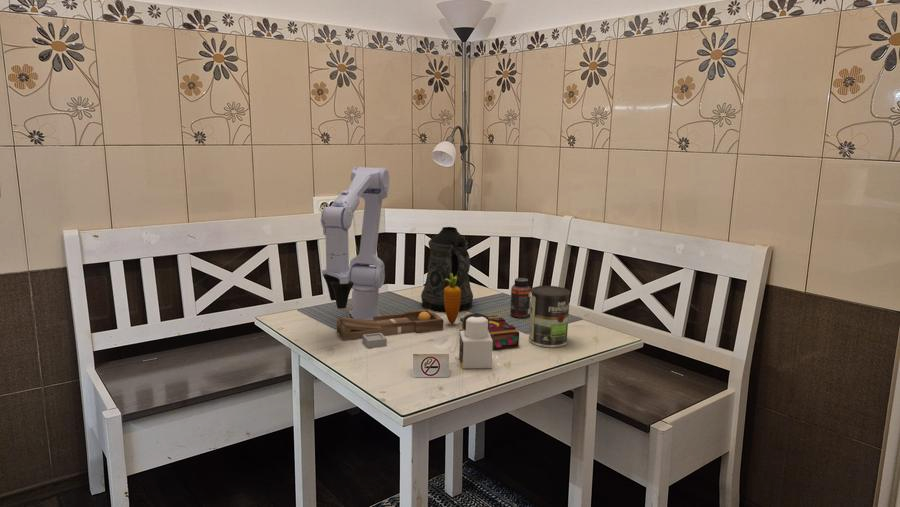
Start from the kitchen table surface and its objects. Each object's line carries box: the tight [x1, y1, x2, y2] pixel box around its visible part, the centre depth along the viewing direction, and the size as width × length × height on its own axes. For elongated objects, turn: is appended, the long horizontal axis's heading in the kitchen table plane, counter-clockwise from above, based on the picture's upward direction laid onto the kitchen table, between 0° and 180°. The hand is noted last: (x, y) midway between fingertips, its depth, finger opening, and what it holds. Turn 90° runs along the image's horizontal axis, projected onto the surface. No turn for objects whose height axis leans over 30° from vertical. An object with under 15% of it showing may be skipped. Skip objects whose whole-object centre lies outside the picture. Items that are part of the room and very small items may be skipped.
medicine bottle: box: [458, 312, 493, 370], centre depth 146 cm, size 7×7×12 cm
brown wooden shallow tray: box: [336, 309, 444, 341], centre depth 169 cm, size 10×28×4 cm, turn 113°
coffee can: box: [528, 285, 571, 348], centre depth 162 cm, size 10×10×14 cm
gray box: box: [362, 333, 388, 349], centre depth 158 cm, size 5×5×2 cm
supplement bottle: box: [510, 277, 532, 319], centre depth 183 cm, size 6×6×11 cm
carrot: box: [444, 273, 461, 326], centre depth 173 cm, size 5×5×15 cm
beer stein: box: [420, 226, 474, 314], centre depth 190 cm, size 16×19×25 cm
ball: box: [418, 312, 430, 321], centre depth 174 cm, size 4×4×4 cm
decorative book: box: [459, 315, 520, 351], centre depth 163 cm, size 11×16×5 cm
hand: (338, 303), depth 159 cm, fingers open, 7 cm apart
